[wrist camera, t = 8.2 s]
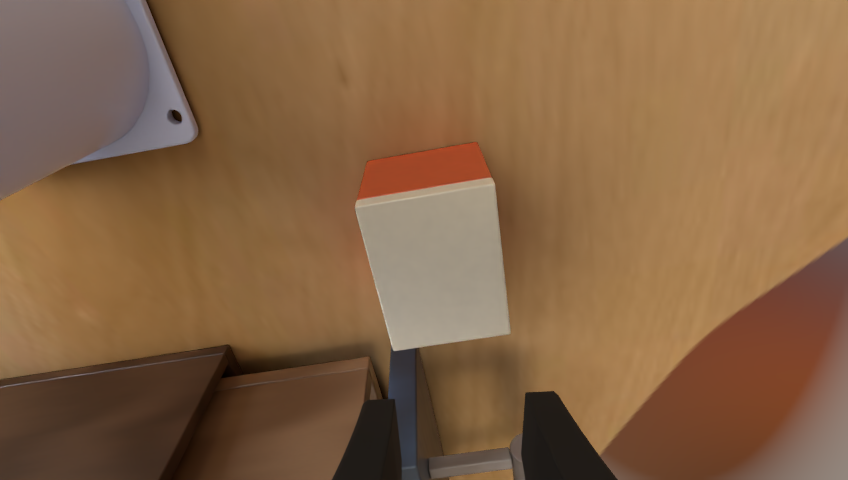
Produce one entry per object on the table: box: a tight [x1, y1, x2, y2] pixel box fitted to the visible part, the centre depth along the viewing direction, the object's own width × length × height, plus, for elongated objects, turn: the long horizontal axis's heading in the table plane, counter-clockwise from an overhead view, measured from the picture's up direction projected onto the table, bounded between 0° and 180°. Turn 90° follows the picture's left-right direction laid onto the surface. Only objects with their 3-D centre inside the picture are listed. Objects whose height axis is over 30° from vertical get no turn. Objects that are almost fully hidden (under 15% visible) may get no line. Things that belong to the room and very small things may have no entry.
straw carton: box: [355, 142, 511, 351], centre depth 17 cm, size 6×4×4 cm
